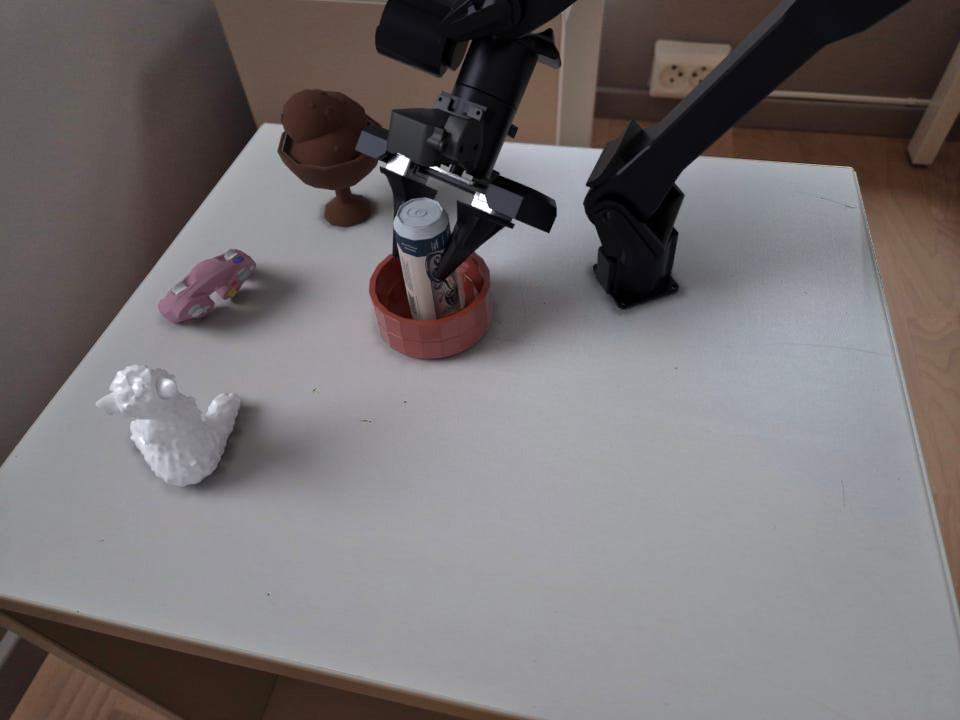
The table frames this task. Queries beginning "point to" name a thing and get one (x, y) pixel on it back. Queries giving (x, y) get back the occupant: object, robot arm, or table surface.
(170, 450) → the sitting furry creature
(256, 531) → the table surface
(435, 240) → the beer can
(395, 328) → the red bowl
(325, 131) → the ice cream bowl
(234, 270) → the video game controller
